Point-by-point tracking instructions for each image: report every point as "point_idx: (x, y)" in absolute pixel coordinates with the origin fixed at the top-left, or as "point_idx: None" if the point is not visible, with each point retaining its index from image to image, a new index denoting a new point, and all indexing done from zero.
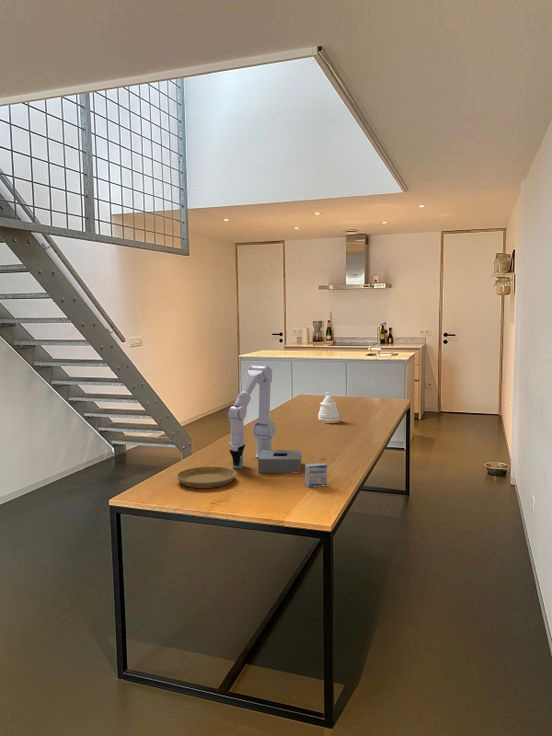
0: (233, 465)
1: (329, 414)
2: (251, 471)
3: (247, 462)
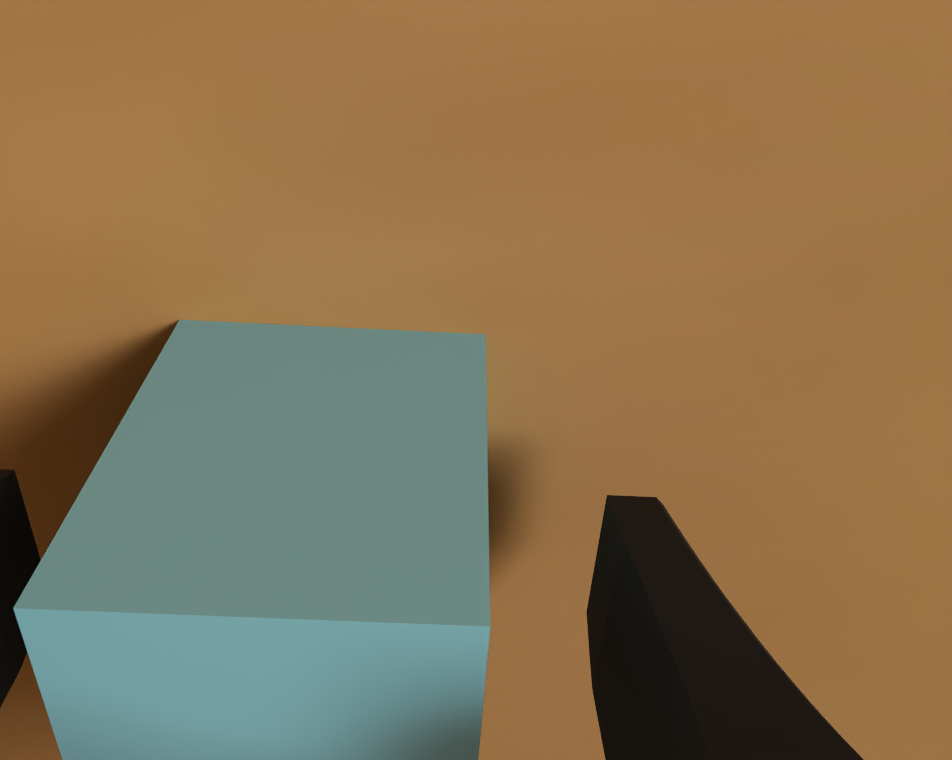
0: (147, 399)
1: None
2: (2, 731)
3: (840, 626)
